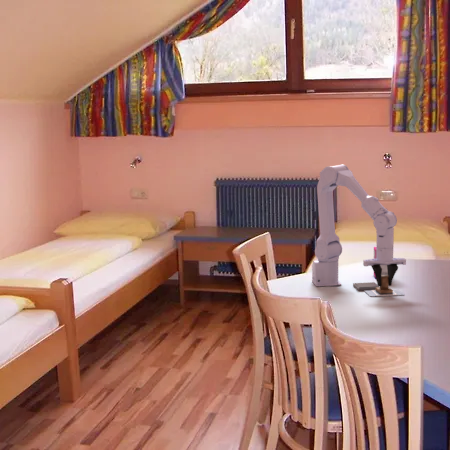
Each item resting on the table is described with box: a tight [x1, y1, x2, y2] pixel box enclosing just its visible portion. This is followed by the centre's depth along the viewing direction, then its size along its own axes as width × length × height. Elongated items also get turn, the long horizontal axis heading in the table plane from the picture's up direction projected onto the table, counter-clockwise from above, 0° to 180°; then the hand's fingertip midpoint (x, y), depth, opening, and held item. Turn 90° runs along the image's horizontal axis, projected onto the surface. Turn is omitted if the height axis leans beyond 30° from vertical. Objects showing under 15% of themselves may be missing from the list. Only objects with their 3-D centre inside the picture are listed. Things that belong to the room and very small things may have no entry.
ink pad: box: [352, 281, 380, 292], centre depth 249 cm, size 8×7×1 cm
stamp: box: [376, 275, 394, 295], centre depth 241 cm, size 4×4×6 cm
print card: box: [364, 288, 405, 298], centre depth 241 cm, size 12×7×1 cm, turn 94°
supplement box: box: [373, 246, 388, 280], centre depth 263 cm, size 6×6×12 cm
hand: (384, 285), depth 241 cm, fingers closed on stamp, 3 cm apart
